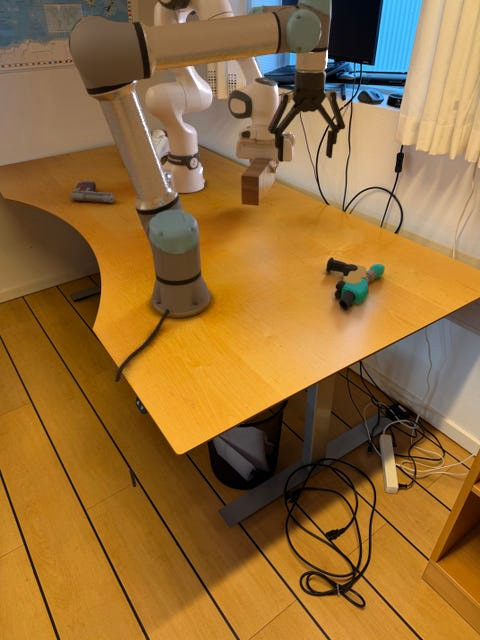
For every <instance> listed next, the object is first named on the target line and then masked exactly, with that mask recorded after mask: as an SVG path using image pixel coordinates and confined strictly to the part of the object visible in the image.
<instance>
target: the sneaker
mask: <svg viewBox="0 0 480 640" xmlns="http://www.w3.org/2000/svg"><path fill="white" fill-rule="evenodd" d="M151 135H152V139H153V142H154V145H155V147H156V150H157V153H158V156H159V159H160V161H161V160H162V158H163V157H166V155H167V154H169V153H166V152H170V150H169V142H168V136H167V132H166V130H164V129H163V130H161V129H155V130H154V131H153V133H152V134H151Z"/></svg>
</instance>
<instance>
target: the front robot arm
mask: <svg viewBox="0 0 480 640" xmlns="http://www.w3.org/2000/svg"><path fill="white" fill-rule="evenodd" d="M331 20H332V0H298V1H297V4H293V5H261V6H252V7H251V8H250V9H249V10H248V13H247V14H242V15H234V16H233V17H225V18H217V19H209V20H201V21H200V20H193V21H186V22H184V23H176V24H168V25H160V26H154V25H152V26H151V25H150V26H148V25H146V24H144V23H143V22H142V21H132V22H121V21H114V20H112V18H109V17H107V16H105V15H103V14H99V13H98V14H95V13H93V14H89V15H88V14H87V15H85V16H83V17H80V18H78V20H77V21H75V22H74V24H73V25H72V27H71V28H70V31H69V35H68V49H69V53H70V56H71V58H72V61H73V63H74V65H75V68H76V70H77V71H78V74H79V76H80V78H81V80H82V83H83V85H84V88H85V91H86V93H87V94H88V97H91V98H93V99H94V100H96V101H98V104H99V106H100V109H101V112H102V115H104V118H105V121H106V123H107V126H108V128H109V131H110V133H111V135H112V139H113V141H114V143H115V145H116V148H117V151H118V152H119V156H120V158H121V161H122V163H123V166H124V168H125V171H126V173H127V175H128V178H129V180H130V183H131V186H132V188H133V191H134V192H135V195H136V199H135V200H134V202H133V206H134V209H135V211H136V213H137V216H138V218H139V221H140V224H141V226H142V229H143V231H144V233H145V236H146V238H147V241H148V245H149V247H150V250H151V253H152V260H153V261H152V262H153V268H154V274H155V275H154V276H155V281H154V284H153V290H152V294H151V305H152V308H153V310H154V311H155V312H156V313H157V314H159V315H160V316H161V318H160V319H159V322H158V323H157V324H156V327H155V328H154V329H153V331H152V333H150V335H149V336H148V338H147V339H146V340H145V341H144V342H143V343H142V344H141V345H140V346H139V347H137V348H136V350H134V351H132V353H130V355H128V356H127V357H126V359H125V360H124V361H123V362H122V363H121V364H120V366H119V367H118V370H117V372H116V375H115V379H114V382H115V383H118V382H120V380H121V376H122V372H123V370H124V368H125V367H126V366H127V365H128V364H129V363H130V361H131V360H132V359H133V358H134V357H136V356H137V355H138V354H140V353H141V351H143V350H144V349H145V348H146V347H147V346H148V345H149V343H151V342H152V340H153V339H154V338H155V336H156V335H157V333H158V332H159V330H160V329H161V328H162V325H163V323H164V322H165V320H166V318H171V319H183V318H185V319H186V318H190V317H194V316H196V315H199V314H201V313H202V312H204V311H205V310H207V308H208V307H209V306H210V303H211V292H210V290H209V288H208V286H207V284H206V281H205V278H204V277H203V275H202V262H201V261H202V259H201V247H200V235H201V234H200V228H199V225H198V221H197V219H196V218H195V216H193V215H192V214H191V213H189V212H185V210H184V207H183V204H182V201H181V198H180V196H179V193H178V192H177V190H176V189H175V188H173V187H171V186H169V184H168V182H167V179H166V176H165V173H164V170H163V167H162V166H163V165H162V162H161V160H160V159H159V156H158V153H157V150H156V147H155V145H154V142H153V139H152V136H151V135H152V134H151V131H150V128H149V125H148V121H147V119H146V117H145V114H144V111H143V107H142V105H141V103H140V99H139V96H138V94H137V90H136V86H137V84H138V83H139V82H138V81H143V80H146V79H147V80H148V79H152V78H153V76H154V75H155V73H156V72H162V71H169V69H176V68H183V67H189V66H193V67H196V66H202V65H208V64H216V63H222V62H223V63H224V62H229V61H236V60H237V59H243V58H250V57H256V58H257V57H263V56H268V55H269V56H270V55H280V54H286V53H294V54H295V69H296V71H295V72H294V85H293V86H294V87H293V88H294V89H293V93H286V92H282V93H281V96H280V100H279V106H278V108H277V110H276V112H275V115H274V117H273V119H272V121H271V123H270V125H269V127H268V131H269V132H270V133H271V134H274V135H275V147H276V148H278V160H279V161H280V163H283V162H284V161H283V147H284V136H283V135H282V133H285V130H286V129H287V128H288V127H289V126H290V124H291V123H292V122H293V120H294V119H295V118H296V117H297V115H299V114H300V112H302V113H308V112H311V113H315V112H316V111H317V112H318V113H319V114H320V116H321V118H323V120H324V121H325V122H326V124H327V125H328V127H329V128H330V130H327V136H326V137H327V138H326V149H325V156H326V157H327V158H328V159H332V158H333V149H334V148H333V147H334V145H336V144H337V141H338V134H339V133H340V131H341V130H345V129H346V124H345V121H344V119H343V116H342V112H341V110H340V107H339V104H338V100H337V99H338V97H337V94H338V93H337V92H336V91H335V90H333V89H330V90H329V91H325V87H326V78H327V73H326V71H325V70H326V69H327V68H328V67H327V65H328V54H329V53H328V51H329V41H330V40H329V39H330V29H331ZM325 99H326V100H327V101H328V103H329V105H330V108H331V111H332V113H333V116H334V119H335V122H336V123H335V122H334V120H333V119H332V117H331V116H330V114H329V113H328V112H327V109H325V107H324V105H323V102H324V100H325ZM291 101H293V105H292V106H291V108H290V110H289V111H288V112H287V114H286V115H285V116H284V118H283V119H282V117H283V115H284V113H285V111H286V109H287V107H288V104H290V103H291ZM277 126H278V127H277ZM128 472H129V475H130V480H131V484H132V487H133V488H136V487H137V481H136V476H135V472H134V469H129V470H128Z"/></svg>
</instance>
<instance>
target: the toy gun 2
mask: <svg viewBox="0 0 480 640" xmlns="http://www.w3.org/2000/svg"><path fill="white" fill-rule="evenodd" d="M325 269H326V270H325V271H326V273H331V271H333V272H338V273H341V274H342V278H341V279H340V280H339V281H338V282H337V283H336V285H335V290H336V291H335V292H334V297H335V298H337V299H339V300H338V306H339V307H340V308H341V309H342V310H343V311H345V312H348V311H349V309H351V307H353V305H354V303H355V304H361V303H362V302H363V301H365V300H366V299H367V296H368V295H369V283H370V282H372V281H373V280H375V279H379V278H381V277H382V276H383V275H384V272H385V269H386V268H385V265H384V264H382V263H374V264H372V265H371V266H370V267H369V269H366V267H365V266H364V265H359V264H353V263H347V262H343V261H341V260H338V259H334V257H329V259H328V260H327V261H326V268H325Z"/></svg>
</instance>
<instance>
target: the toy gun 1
mask: <svg viewBox="0 0 480 640" xmlns="http://www.w3.org/2000/svg"><path fill="white" fill-rule="evenodd" d="M96 190H97V183H96V181H94V180H85V181H80V182H78V183H77V184H76V186H75V189H74V190H72V191H71V194H70V196H69V198H71V200H72V201H80V202H81V201H82V202H93V203H107V204H113V203H114V199H115V195H114V193H111V192H106V191H105V192H104V191H102V192H101V191H96Z"/></svg>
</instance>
